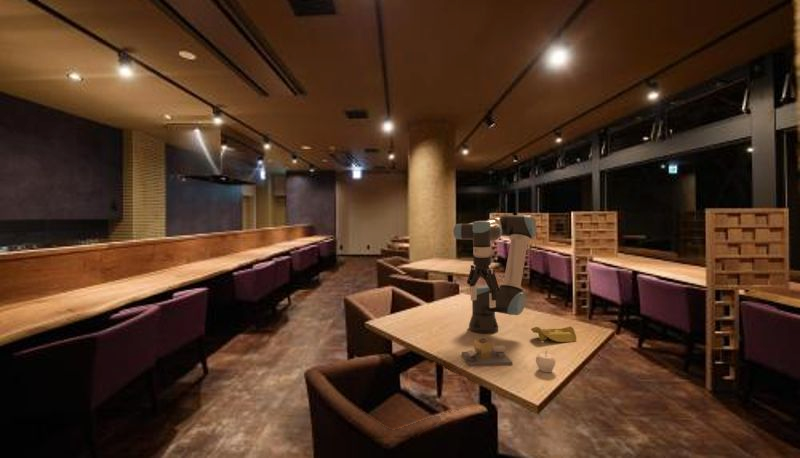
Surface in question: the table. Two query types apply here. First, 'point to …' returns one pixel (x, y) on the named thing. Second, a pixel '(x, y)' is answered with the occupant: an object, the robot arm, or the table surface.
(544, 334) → the plastic component
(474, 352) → the shaft
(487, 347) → the orange rectangular block
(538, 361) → the plain white apple
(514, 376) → the table surface
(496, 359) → the bolted mounting plate
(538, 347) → the table surface
